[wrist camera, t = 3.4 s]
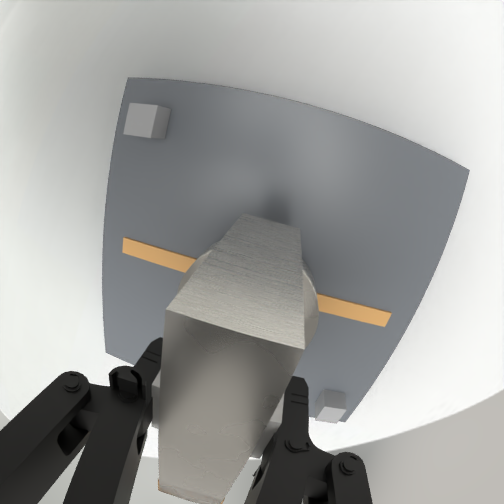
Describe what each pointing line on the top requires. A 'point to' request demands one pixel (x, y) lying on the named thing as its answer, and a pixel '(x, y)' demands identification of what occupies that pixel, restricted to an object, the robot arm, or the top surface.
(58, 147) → the top surface
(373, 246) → the post plate
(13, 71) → the top surface
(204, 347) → the grey block knob
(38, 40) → the top surface
